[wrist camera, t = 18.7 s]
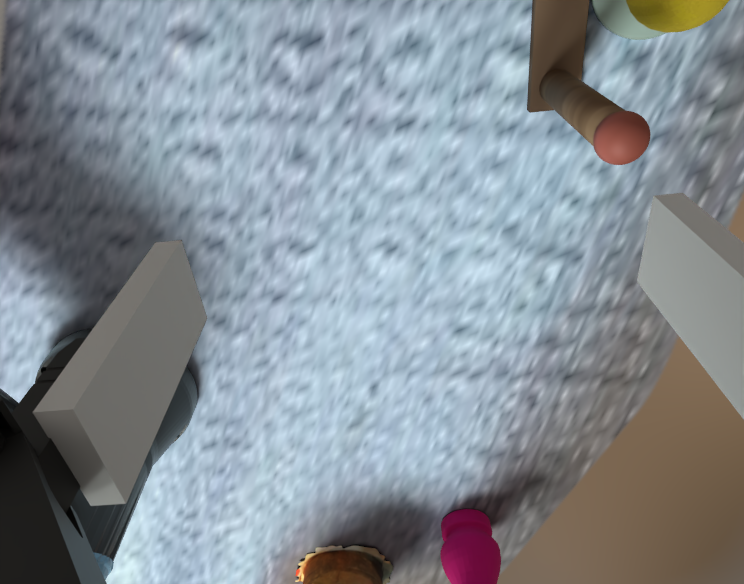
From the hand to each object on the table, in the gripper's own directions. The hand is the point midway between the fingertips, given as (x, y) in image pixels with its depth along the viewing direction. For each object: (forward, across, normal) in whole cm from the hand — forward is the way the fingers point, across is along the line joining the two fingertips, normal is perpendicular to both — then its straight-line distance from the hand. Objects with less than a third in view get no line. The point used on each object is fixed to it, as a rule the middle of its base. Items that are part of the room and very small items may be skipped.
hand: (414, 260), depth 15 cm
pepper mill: (+29, +5, -56) cm, 63 cm away
